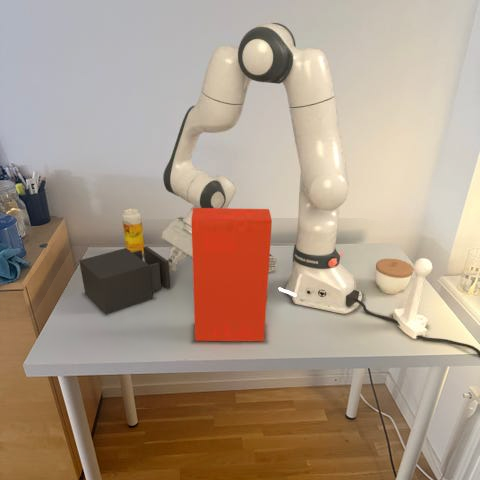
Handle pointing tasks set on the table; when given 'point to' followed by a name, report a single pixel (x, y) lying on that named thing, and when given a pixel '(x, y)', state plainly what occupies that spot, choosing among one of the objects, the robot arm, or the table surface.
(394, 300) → the table surface
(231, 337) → the file binder
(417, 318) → the joystick
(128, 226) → the vitamin bottle
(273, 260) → the flashlight
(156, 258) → the drawer
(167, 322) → the table surface
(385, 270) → the trinket box
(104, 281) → the dark grey open box
